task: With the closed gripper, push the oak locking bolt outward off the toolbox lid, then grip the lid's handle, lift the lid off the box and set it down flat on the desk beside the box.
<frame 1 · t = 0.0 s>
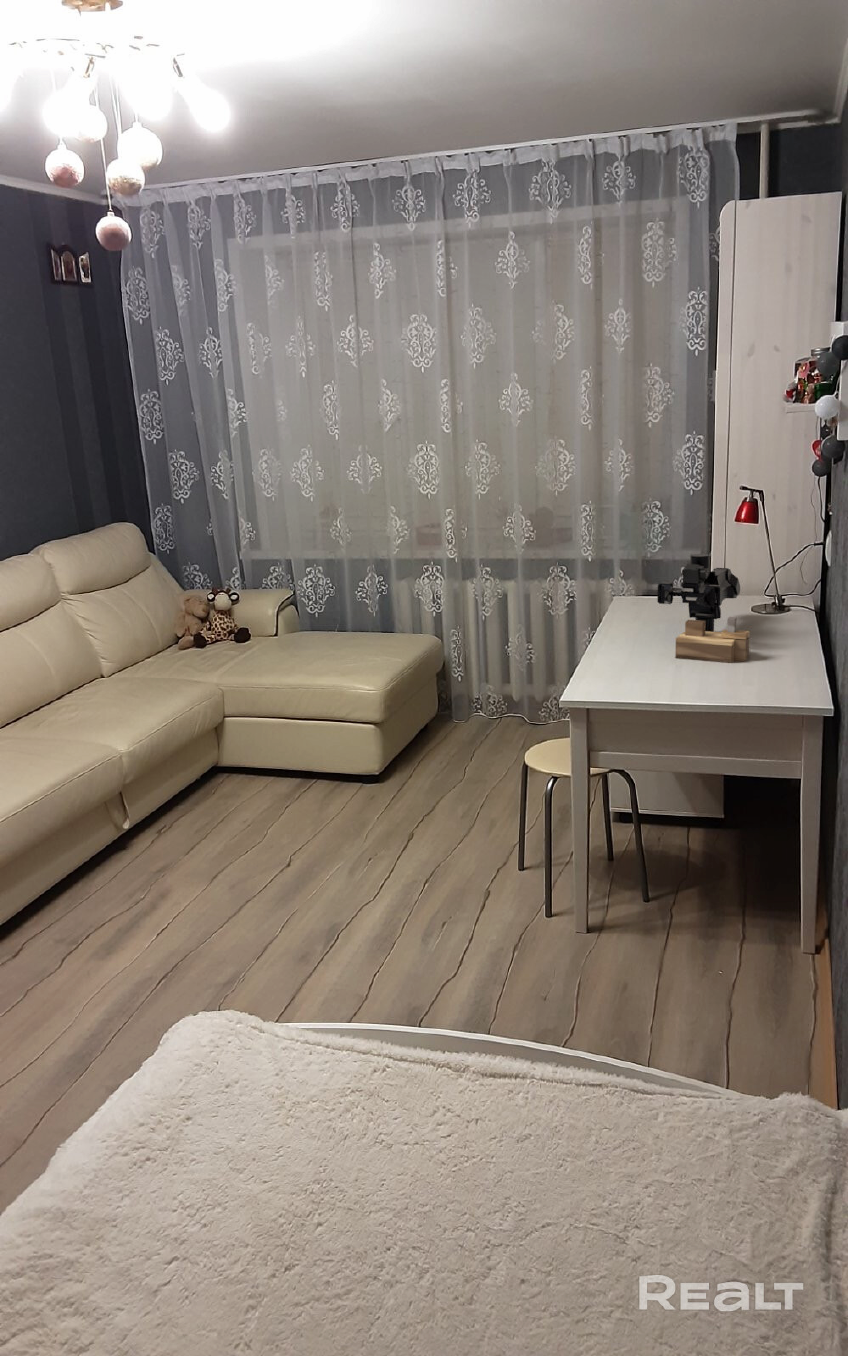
hand: (680, 599, 305), 16 cm above the table, fingers open, 9 cm apart
locking bolt: (735, 627, 300), point 9 cm above the table, slide at 0.0 cm
lid: (708, 639, 305), point 5 cm above the table, touching toolbox
toolbox: (708, 656, 306), on the table
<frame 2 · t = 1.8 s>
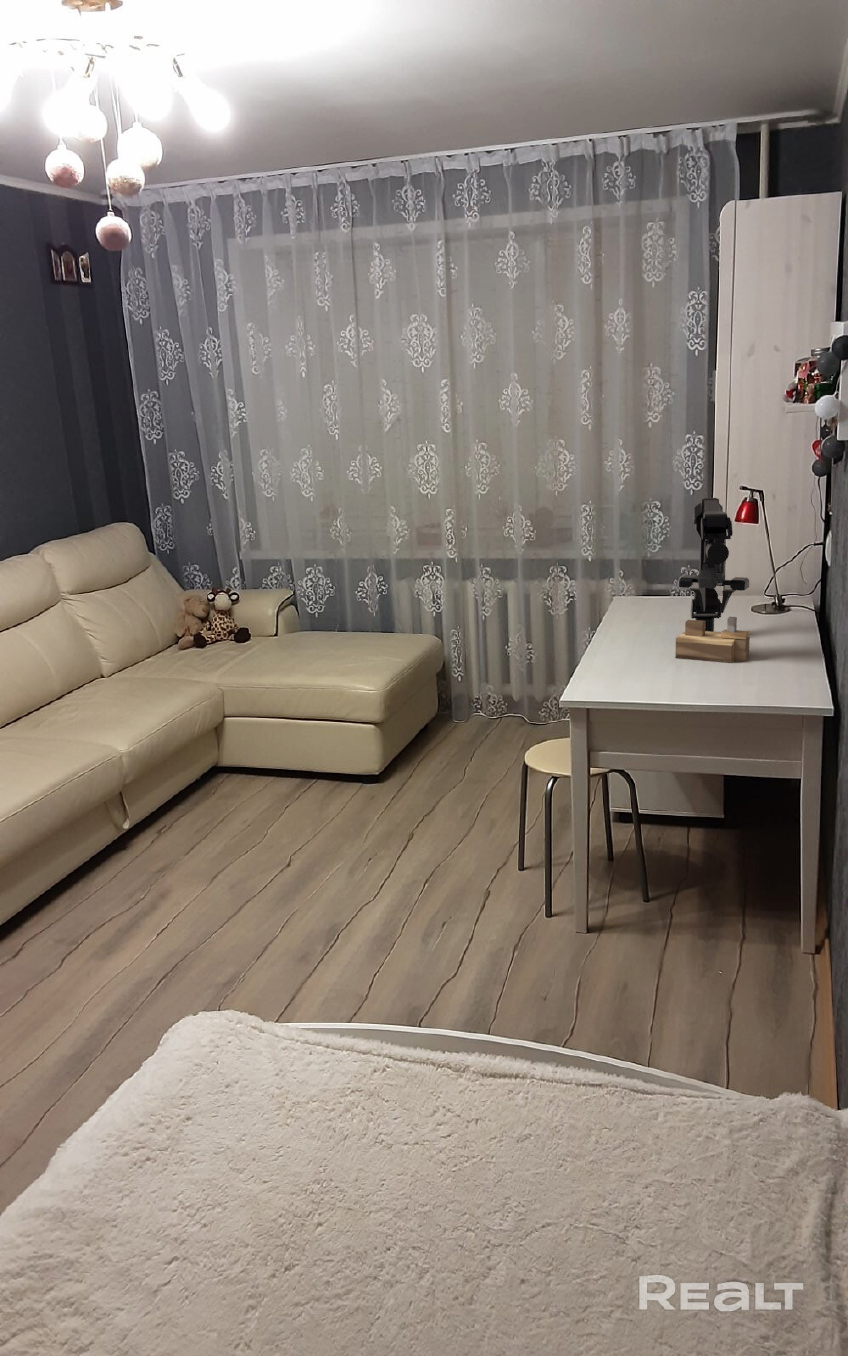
hand: (712, 612, 302), 13 cm above the table, fingers open, 5 cm apart
nothing on the table moved.
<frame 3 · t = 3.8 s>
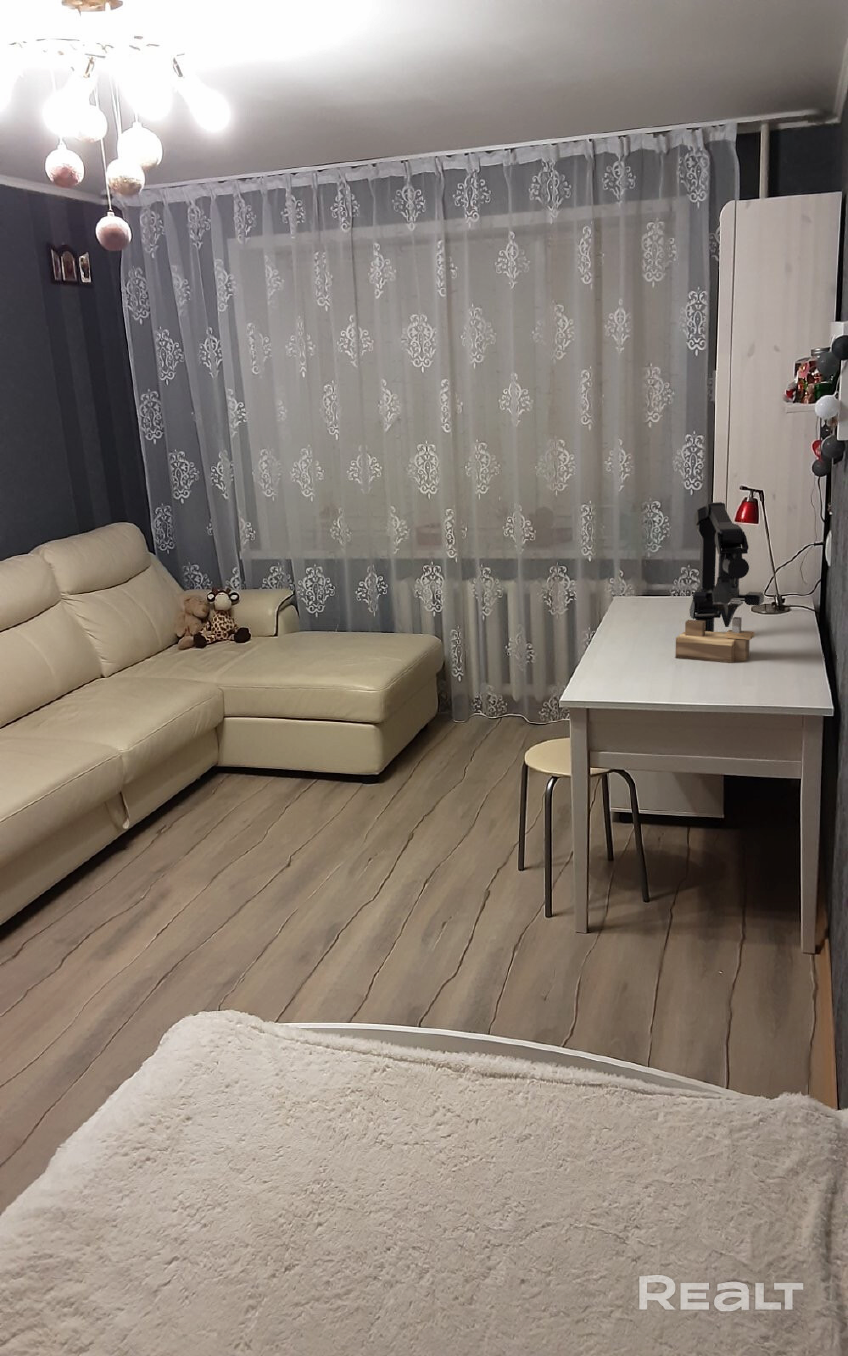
hand: (727, 626, 301), 9 cm above the table, fingers closed
locking bolt: (740, 627, 299), point 9 cm above the table, slide at 1.4 cm, touching gripper
everything else where it was.
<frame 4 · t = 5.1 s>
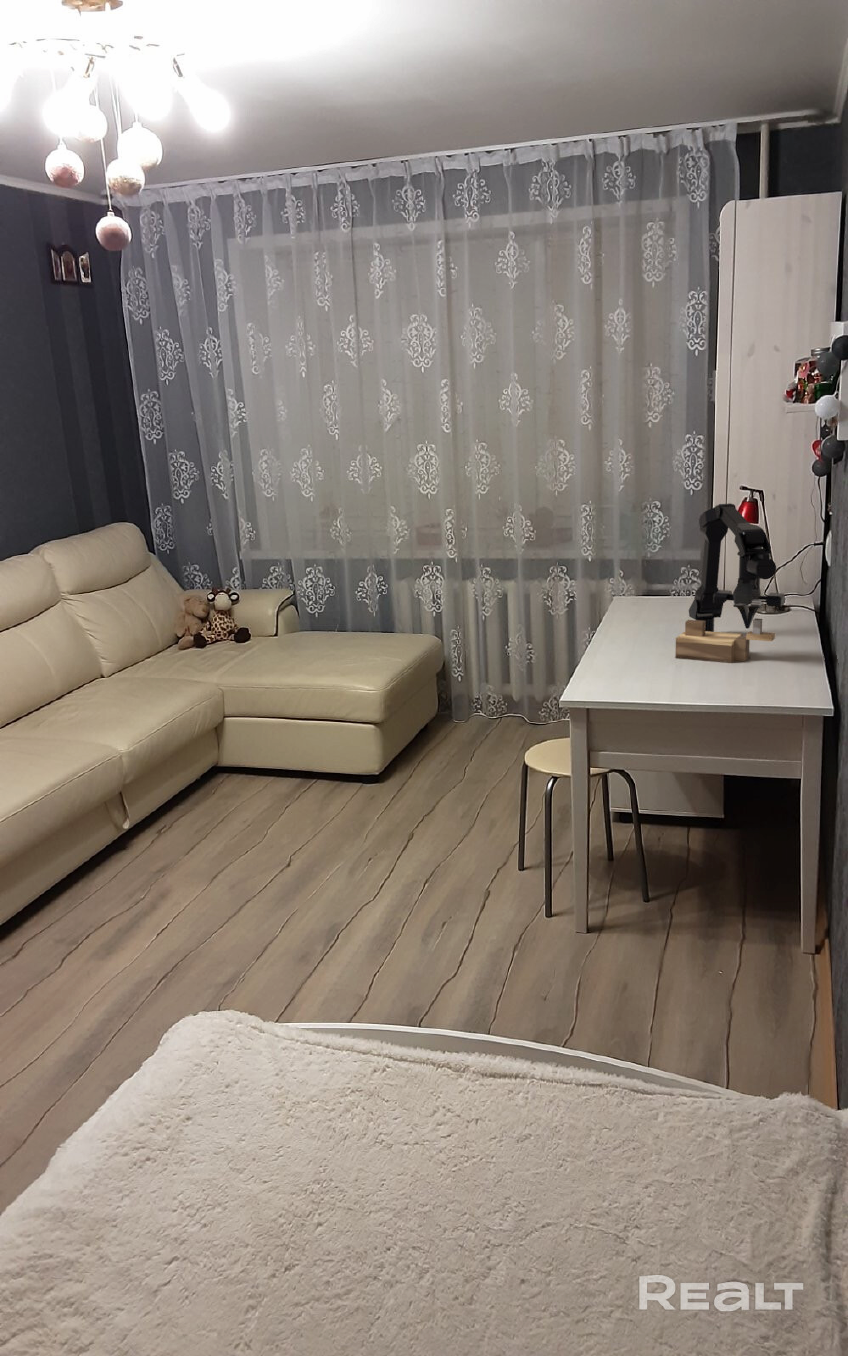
hand: (747, 628, 298), 9 cm above the table, fingers closed
locking bolt: (761, 629, 296), point 9 cm above the table, slide at 7.1 cm, touching gripper
everything else where it was.
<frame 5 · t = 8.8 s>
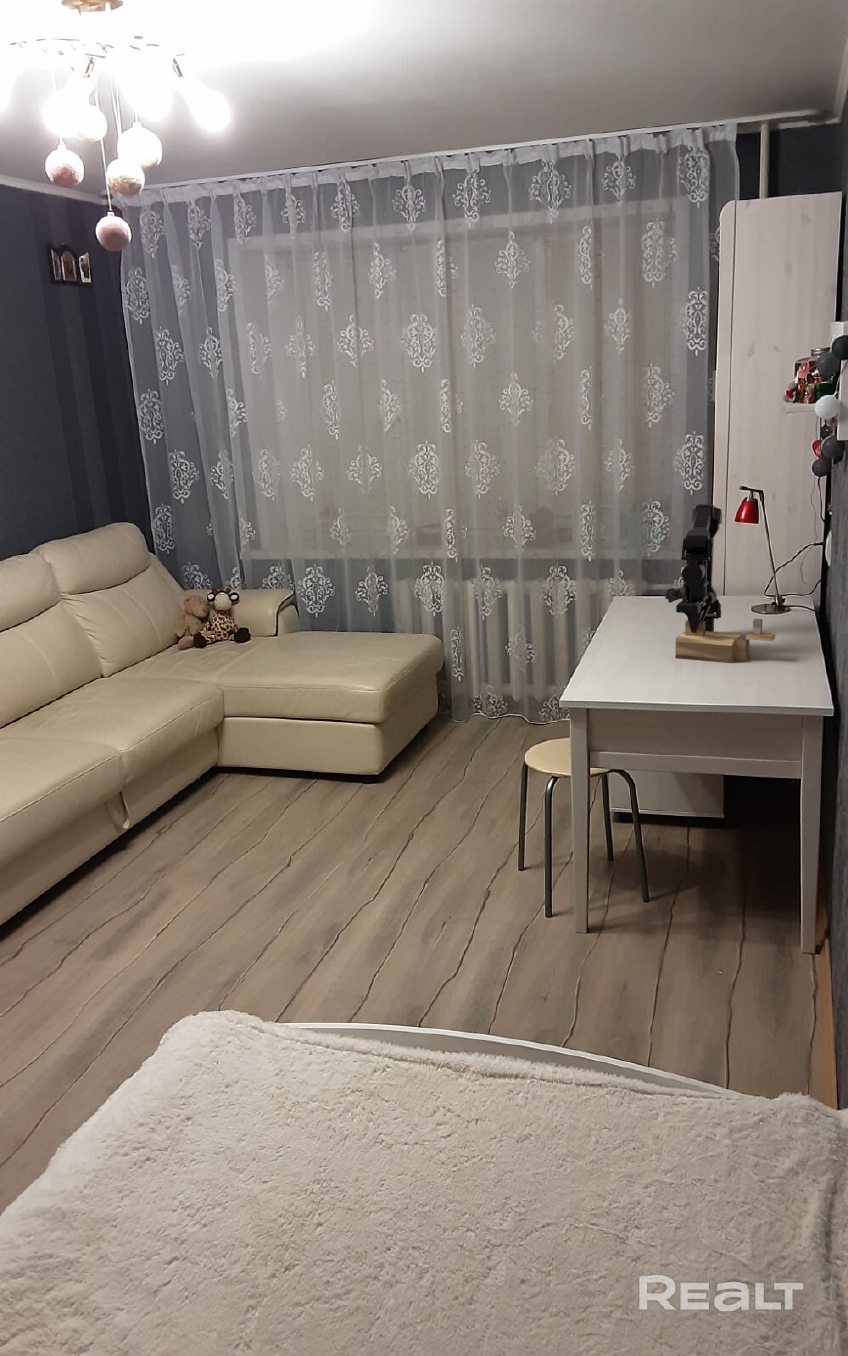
hand: (695, 631, 306), 7 cm above the table, fingers closed on lid, 3 cm apart
locking bolt: (761, 629, 296), point 9 cm above the table, slide at 7.2 cm
lid: (708, 639, 305), point 5 cm above the table, touching gripper, toolbox
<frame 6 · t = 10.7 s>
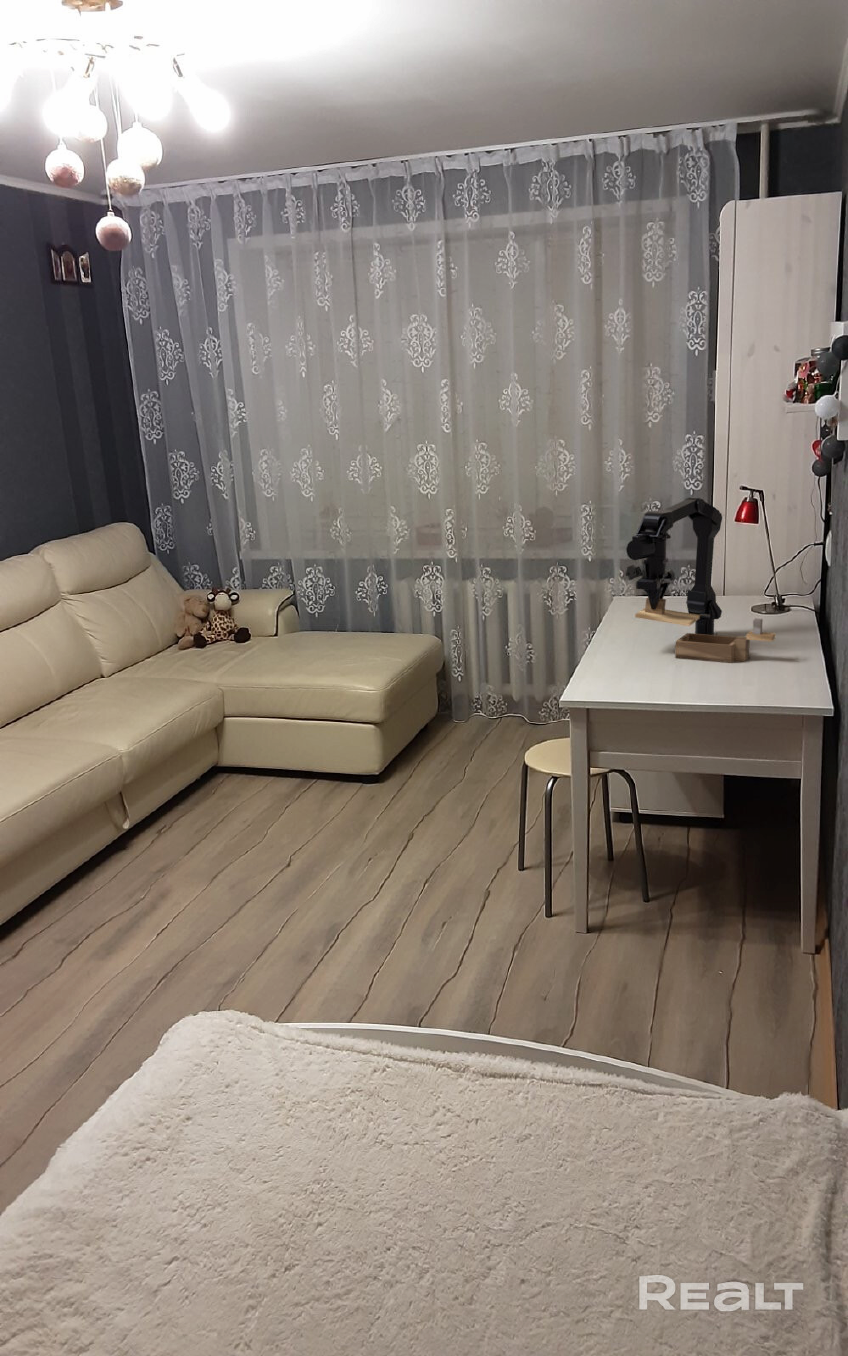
hand: (655, 608, 310), 13 cm above the table, fingers closed on lid, 3 cm apart
lid: (667, 617, 309), point 11 cm above the table, tilted 6°, touching gripper
everything else where it was.
when the fingers open (4 cm above the table, at t = 13.0 s): lid drops 2 cm, on the table.
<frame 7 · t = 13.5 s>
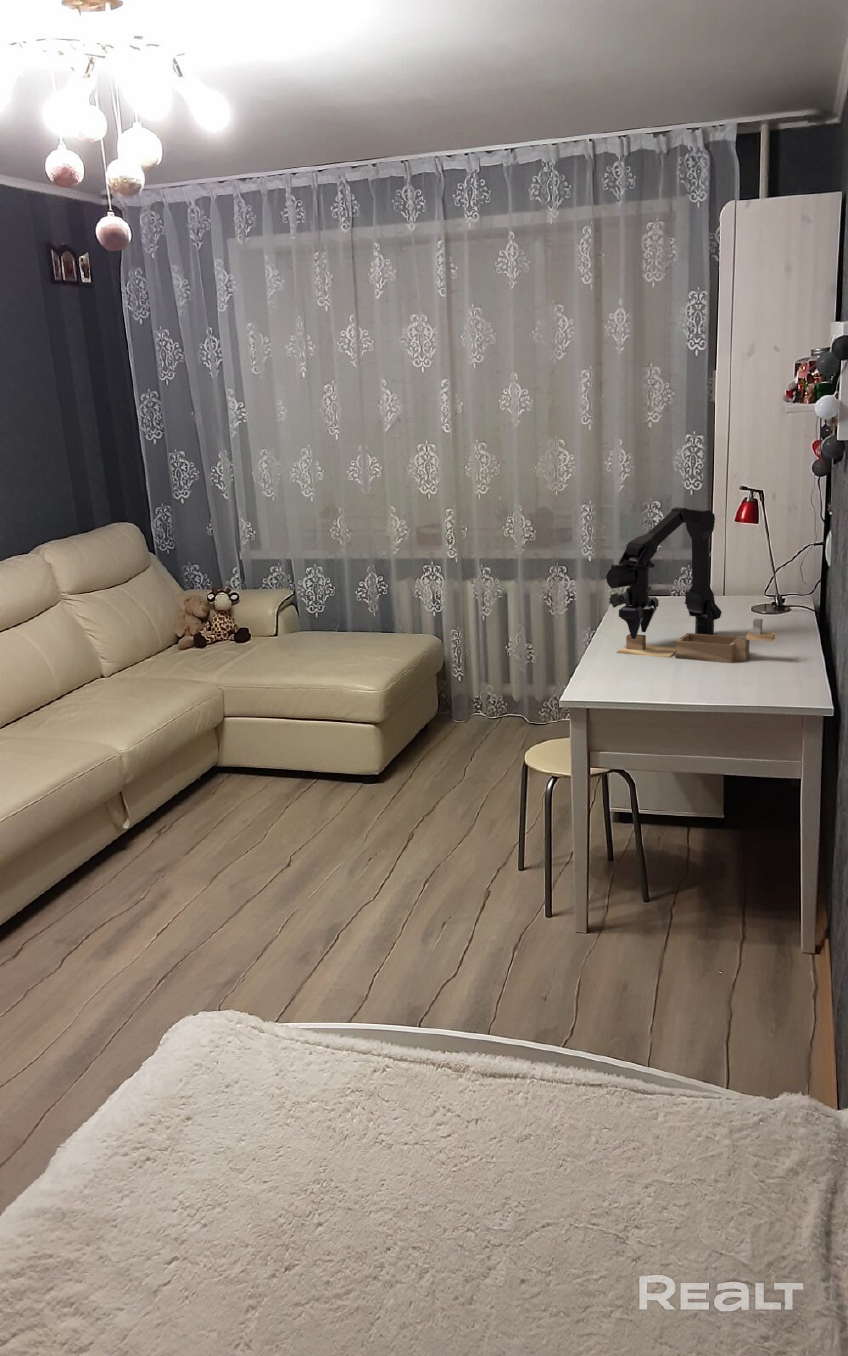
hand: (638, 635, 315), 4 cm above the table, fingers open, 9 cm apart
lid: (648, 652, 315), on the table
everything else where it was.
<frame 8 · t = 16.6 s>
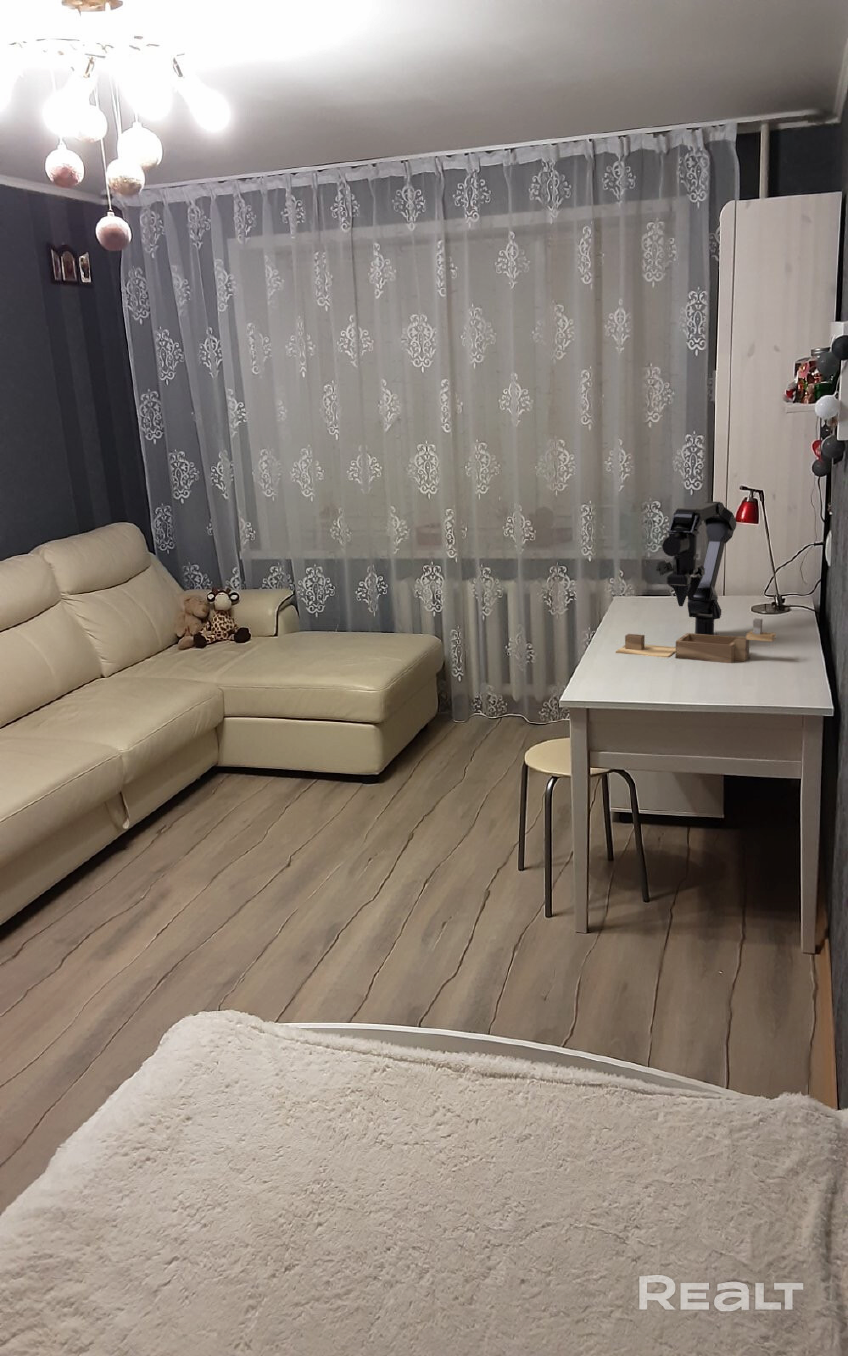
hand: (685, 603, 316), 13 cm above the table, fingers open, 9 cm apart
nothing on the table moved.
at the end: locking bolt slide at 7.2 cm; lid inside the target area (0.7 cm from its centre), on the table; lid tilted 0° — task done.
